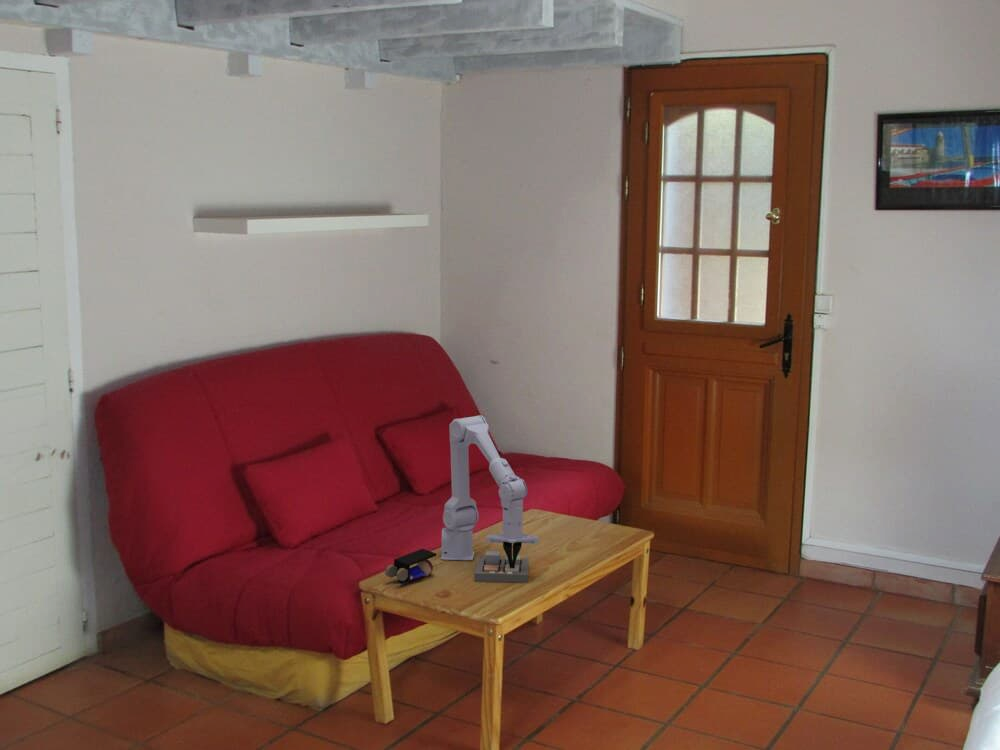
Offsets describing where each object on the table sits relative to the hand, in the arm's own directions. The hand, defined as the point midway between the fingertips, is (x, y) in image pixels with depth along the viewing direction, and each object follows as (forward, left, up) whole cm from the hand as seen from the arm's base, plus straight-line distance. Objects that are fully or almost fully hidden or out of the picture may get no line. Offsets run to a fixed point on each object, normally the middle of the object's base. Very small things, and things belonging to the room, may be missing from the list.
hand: (512, 567), depth 330 cm
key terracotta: (-6, 0, -2) cm, 6 cm away
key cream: (0, 0, -2) cm, 2 cm away
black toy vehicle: (-29, -4, -3) cm, 29 cm away
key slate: (-6, +6, -1) cm, 9 cm away
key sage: (0, +6, -2) cm, 6 cm away
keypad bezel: (-3, +3, -3) cm, 5 cm away
